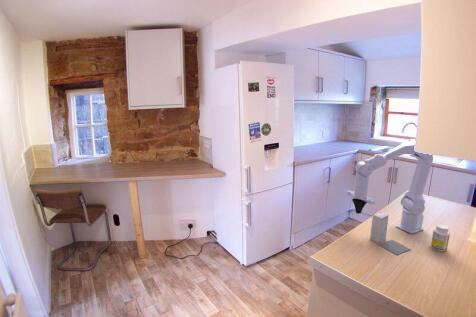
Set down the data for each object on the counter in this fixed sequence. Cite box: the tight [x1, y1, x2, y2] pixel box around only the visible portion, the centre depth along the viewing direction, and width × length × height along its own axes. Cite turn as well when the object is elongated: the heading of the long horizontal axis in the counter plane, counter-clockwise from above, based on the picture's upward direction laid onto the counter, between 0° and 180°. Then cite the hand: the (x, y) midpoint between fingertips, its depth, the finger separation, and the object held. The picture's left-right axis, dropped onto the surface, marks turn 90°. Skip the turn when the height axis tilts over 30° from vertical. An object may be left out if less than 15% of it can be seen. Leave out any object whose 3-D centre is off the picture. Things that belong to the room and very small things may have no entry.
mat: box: [377, 239, 412, 256], centre depth 115 cm, size 9×8×1 cm
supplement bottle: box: [430, 224, 451, 252], centre depth 113 cm, size 6×6×10 cm
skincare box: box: [369, 211, 389, 244], centre depth 120 cm, size 6×4×12 cm
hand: (358, 212), depth 130 cm, fingers closed
